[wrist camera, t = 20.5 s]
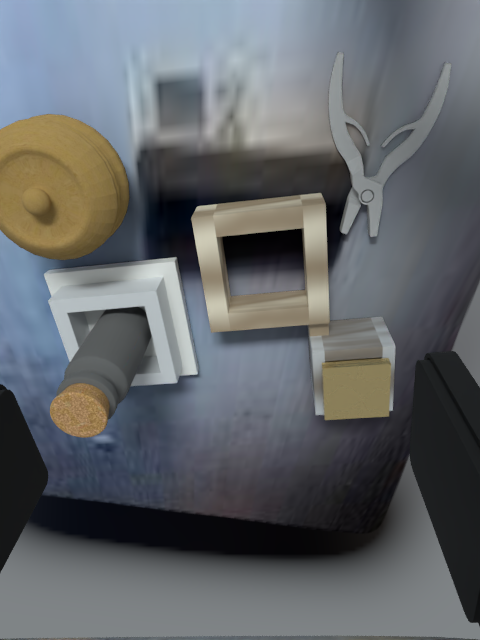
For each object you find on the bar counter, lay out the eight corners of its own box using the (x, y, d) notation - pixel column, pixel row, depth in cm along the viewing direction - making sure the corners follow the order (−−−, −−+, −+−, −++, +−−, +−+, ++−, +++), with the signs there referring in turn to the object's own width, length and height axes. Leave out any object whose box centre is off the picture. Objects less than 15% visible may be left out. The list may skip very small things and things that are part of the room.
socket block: (197, 206, 45) (187, 224, 40) (385, 185, 43) (401, 202, 38) (227, 387, 55) (223, 420, 50) (380, 376, 53) (392, 410, 48)
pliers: (458, 63, 37) (409, 240, 44) (451, 63, 38) (405, 235, 46) (336, 51, 37) (307, 230, 44) (334, 52, 39) (306, 225, 46)
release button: (316, 336, 49) (322, 368, 44) (377, 331, 49) (391, 363, 43) (319, 384, 52) (324, 420, 47) (376, 380, 52) (388, 416, 46)
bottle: (147, 299, 49) (103, 385, 36) (158, 346, 52) (121, 441, 38) (94, 304, 49) (32, 389, 36) (108, 350, 52) (54, 445, 39)
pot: (119, 253, 48) (86, 295, 39) (7, 208, 46) (-53, 240, 37) (154, 144, 42) (125, 164, 34) (29, 87, 41) (-36, 93, 32)
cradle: (48, 269, 49) (28, 288, 45) (176, 257, 48) (168, 275, 44) (85, 376, 56) (70, 401, 52) (198, 368, 54) (193, 393, 50)
